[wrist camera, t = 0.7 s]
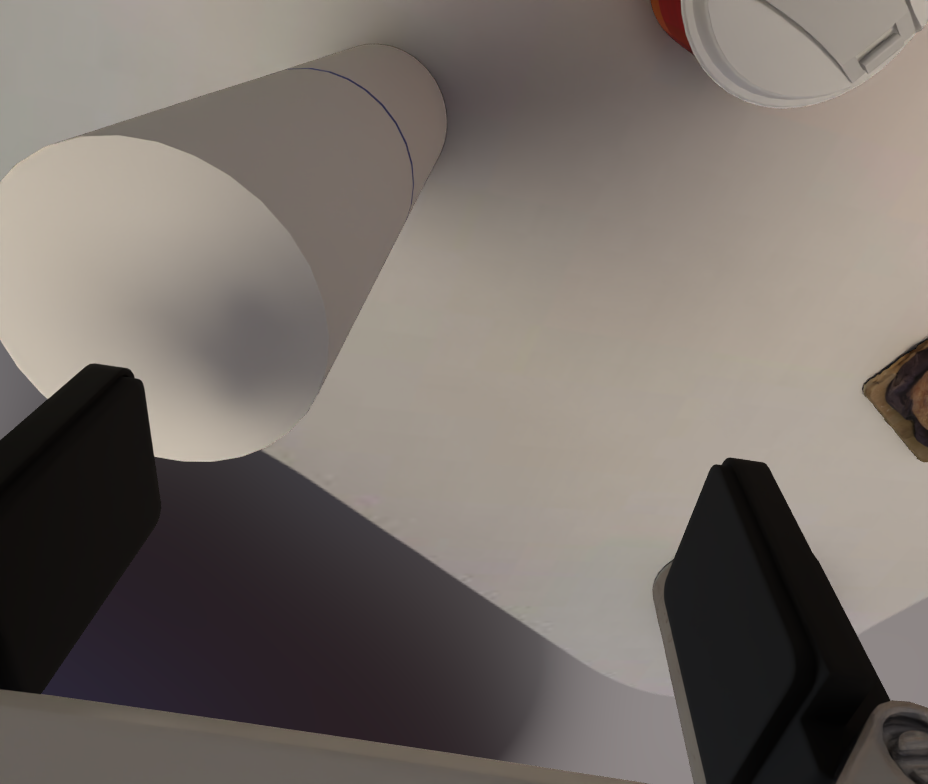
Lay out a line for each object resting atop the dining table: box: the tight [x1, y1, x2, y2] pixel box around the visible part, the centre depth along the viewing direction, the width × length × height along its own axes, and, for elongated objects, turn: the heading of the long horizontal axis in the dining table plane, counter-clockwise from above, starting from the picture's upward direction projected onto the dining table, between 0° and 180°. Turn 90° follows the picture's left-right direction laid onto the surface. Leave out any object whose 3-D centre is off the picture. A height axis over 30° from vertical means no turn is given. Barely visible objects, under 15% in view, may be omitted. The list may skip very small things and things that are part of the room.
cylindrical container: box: [0, 44, 447, 462], centre depth 24 cm, size 7×7×25 cm
